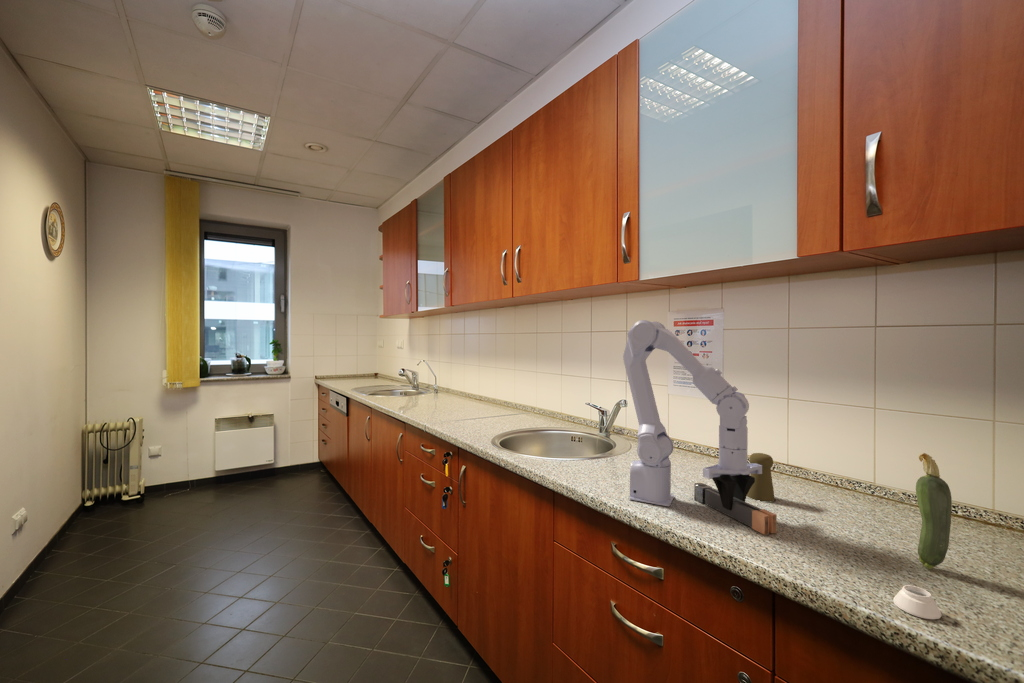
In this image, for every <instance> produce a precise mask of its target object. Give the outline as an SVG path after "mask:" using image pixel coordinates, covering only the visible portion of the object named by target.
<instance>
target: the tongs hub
mask: <svg viewBox="0 0 1024 683" xmlns="http://www.w3.org/2000/svg"><path fill="white" fill-rule="evenodd" d="M693 486H694V487H693V488H694V491H693V492H694V493H693V498H694V501H696V502H697V503H700V504H701V505H706V504H705V489H709V490H711V488H713V487H712V486H711V485H708V484H706V483H703V482H694V485H693Z"/></svg>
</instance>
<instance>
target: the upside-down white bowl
mask: <svg viewBox="0 0 1024 683" xmlns="http://www.w3.org/2000/svg"><path fill="white" fill-rule="evenodd" d="M893 603H894V605H895V606H896V607H898V608H899V609H900V610H902V611H904V612H905V613H907V614H910V615H912V616H914V617H917V618H922V619H925V620H939V619H941V617H942V612H941V610H940V608H939V606H938V604H937V602H936V601H935V599H934V598H933V597H932V594H931V592H929V591H928V590H926V589H924V588H923V587H918V586H915V585H911V584H910V585H909V584H908V585H907V584H906V585H903V586H902V589H900V590H898V592H897V593H896V594H895V596H894V597H893Z"/></svg>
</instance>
